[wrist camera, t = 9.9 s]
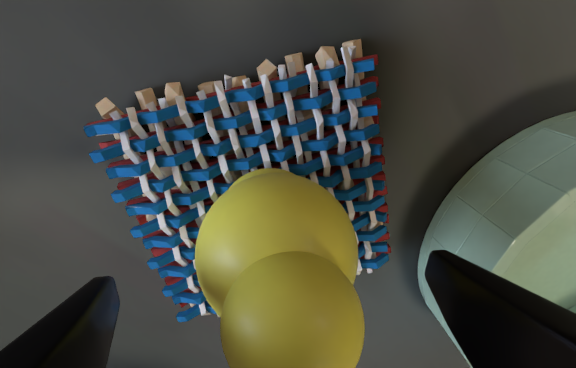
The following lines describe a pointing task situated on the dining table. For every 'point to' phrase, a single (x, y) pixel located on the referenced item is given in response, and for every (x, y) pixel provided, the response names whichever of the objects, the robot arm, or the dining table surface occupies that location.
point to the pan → (515, 215)
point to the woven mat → (247, 155)
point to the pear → (281, 274)
